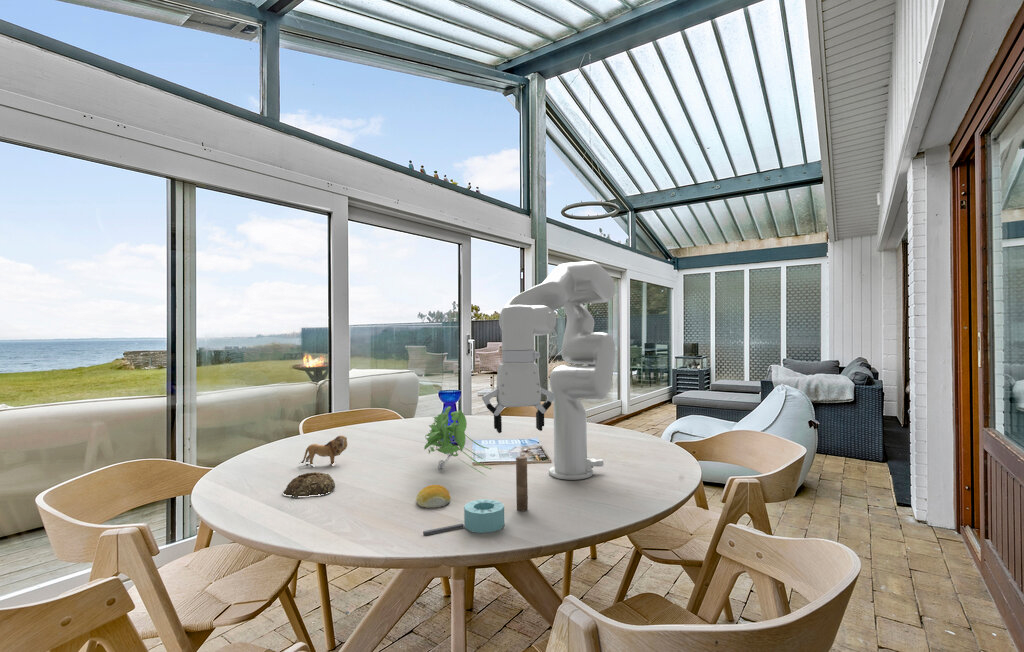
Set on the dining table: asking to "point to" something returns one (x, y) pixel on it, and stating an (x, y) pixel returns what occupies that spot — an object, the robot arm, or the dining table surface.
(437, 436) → the plant cuttings
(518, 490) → the round-ended wooden dowel
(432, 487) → the bread roll
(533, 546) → the dining table surface
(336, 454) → the lion figurine
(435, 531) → the thin grey bar
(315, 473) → the brown rock
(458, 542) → the dining table surface
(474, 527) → the bead
